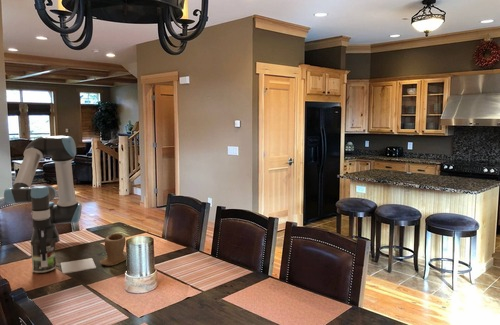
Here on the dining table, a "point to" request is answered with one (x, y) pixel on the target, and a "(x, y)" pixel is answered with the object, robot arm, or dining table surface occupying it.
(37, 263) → the coffee can
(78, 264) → the grey mat
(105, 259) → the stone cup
